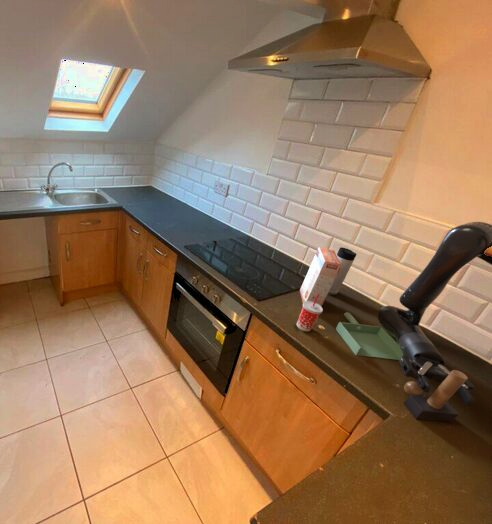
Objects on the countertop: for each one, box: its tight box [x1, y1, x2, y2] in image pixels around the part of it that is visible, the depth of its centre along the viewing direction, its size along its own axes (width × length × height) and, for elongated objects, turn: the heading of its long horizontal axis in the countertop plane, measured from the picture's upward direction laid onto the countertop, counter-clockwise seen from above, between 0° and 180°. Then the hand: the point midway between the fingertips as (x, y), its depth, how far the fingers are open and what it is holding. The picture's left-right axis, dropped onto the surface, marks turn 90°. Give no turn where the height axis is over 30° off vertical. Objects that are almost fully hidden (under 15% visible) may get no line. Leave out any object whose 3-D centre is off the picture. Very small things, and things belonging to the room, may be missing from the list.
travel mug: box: [327, 246, 357, 296], centre depth 124 cm, size 6×7×20 cm
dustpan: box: [335, 312, 404, 361], centre depth 103 cm, size 20×15×3 cm
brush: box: [403, 369, 469, 424], centre depth 75 cm, size 9×4×14 cm, turn 87°
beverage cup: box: [296, 294, 324, 332], centre depth 101 cm, size 6×6×14 cm
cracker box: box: [299, 246, 342, 307], centre depth 115 cm, size 14×6×21 cm, turn 160°
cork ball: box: [403, 380, 425, 396], centre depth 82 cm, size 4×4×4 cm
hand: (448, 396), depth 73 cm, fingers open, 8 cm apart
